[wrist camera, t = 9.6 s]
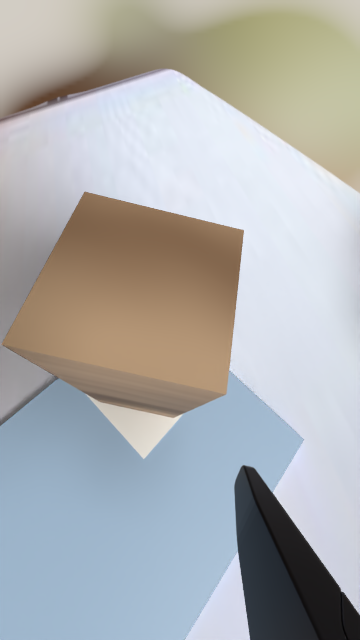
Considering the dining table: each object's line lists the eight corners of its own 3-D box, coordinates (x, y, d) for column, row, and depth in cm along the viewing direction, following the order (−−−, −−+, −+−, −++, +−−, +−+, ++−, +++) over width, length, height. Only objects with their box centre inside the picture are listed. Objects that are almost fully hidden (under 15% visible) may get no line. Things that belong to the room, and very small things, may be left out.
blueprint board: (93, 783, 10) (90, 799, 10) (-84, 498, 13) (-92, 501, 13) (300, 439, 17) (304, 439, 17) (152, 302, 20) (152, 299, 20)
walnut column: (173, 418, 16) (226, 394, 5) (100, 402, 16) (1, 344, 5) (186, 348, 18) (243, 230, 7) (122, 333, 18) (84, 191, 7)
